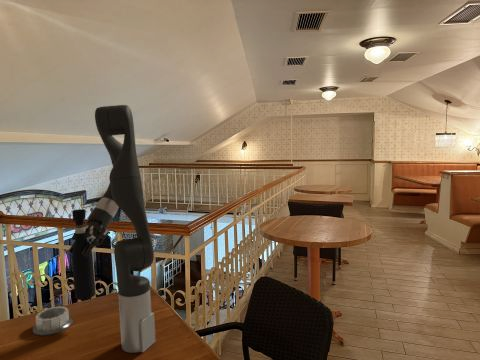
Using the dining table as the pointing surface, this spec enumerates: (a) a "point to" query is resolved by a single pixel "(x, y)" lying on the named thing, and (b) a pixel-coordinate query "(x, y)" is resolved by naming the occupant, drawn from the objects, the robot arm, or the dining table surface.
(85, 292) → the black bottle
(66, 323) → the bottle collar
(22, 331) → the dining table surface
